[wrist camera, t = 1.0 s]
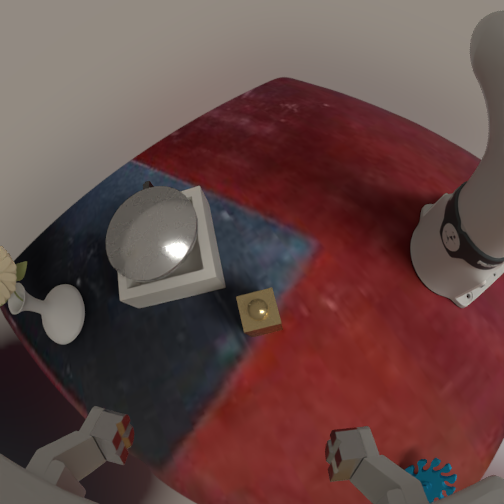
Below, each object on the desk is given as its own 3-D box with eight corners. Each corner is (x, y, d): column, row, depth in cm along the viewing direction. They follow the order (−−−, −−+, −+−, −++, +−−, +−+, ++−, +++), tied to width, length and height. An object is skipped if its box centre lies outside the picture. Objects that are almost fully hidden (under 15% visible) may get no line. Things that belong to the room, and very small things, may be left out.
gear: (406, 454, 30) (464, 467, 22) (420, 443, 33) (472, 452, 25) (385, 508, 28) (436, 523, 20) (401, 494, 31) (448, 506, 23)
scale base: (208, 202, 50) (199, 183, 44) (225, 287, 44) (216, 276, 39) (132, 226, 50) (116, 211, 45) (138, 308, 45) (119, 300, 39)
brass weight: (275, 300, 43) (271, 285, 34) (283, 329, 41) (281, 322, 33) (245, 307, 43) (234, 295, 35) (252, 337, 41) (243, 331, 33)
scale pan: (198, 184, 46) (187, 164, 41) (214, 277, 40) (203, 264, 35) (122, 209, 47) (106, 193, 41) (127, 299, 41) (107, 290, 36)
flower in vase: (64, 357, 43) (-46, 336, 20) (42, 311, 47) (-54, 274, 24) (105, 314, 45) (-9, 269, 22) (79, 269, 49) (-17, 211, 26)
